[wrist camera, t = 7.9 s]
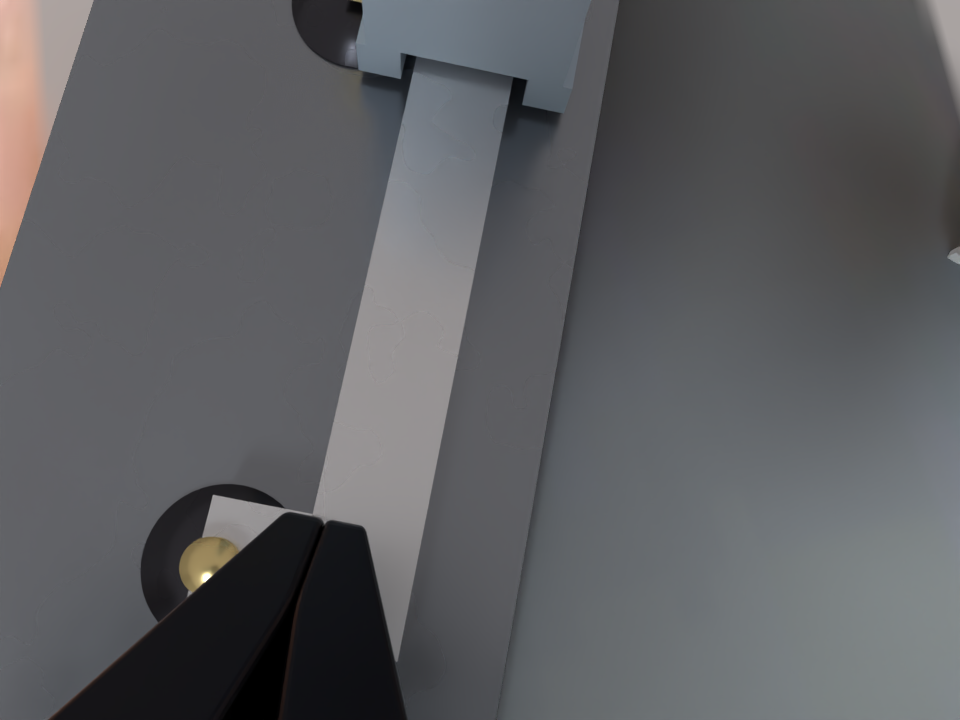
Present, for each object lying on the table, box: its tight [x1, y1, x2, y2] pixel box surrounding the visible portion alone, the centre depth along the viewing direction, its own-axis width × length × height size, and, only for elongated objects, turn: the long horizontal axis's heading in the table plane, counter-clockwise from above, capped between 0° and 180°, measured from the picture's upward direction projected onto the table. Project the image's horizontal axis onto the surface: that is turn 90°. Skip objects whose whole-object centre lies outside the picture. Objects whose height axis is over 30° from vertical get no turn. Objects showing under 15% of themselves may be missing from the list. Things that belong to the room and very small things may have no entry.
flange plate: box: [0, 0, 619, 720], centre depth 17 cm, size 22×11×2 cm, turn 169°
